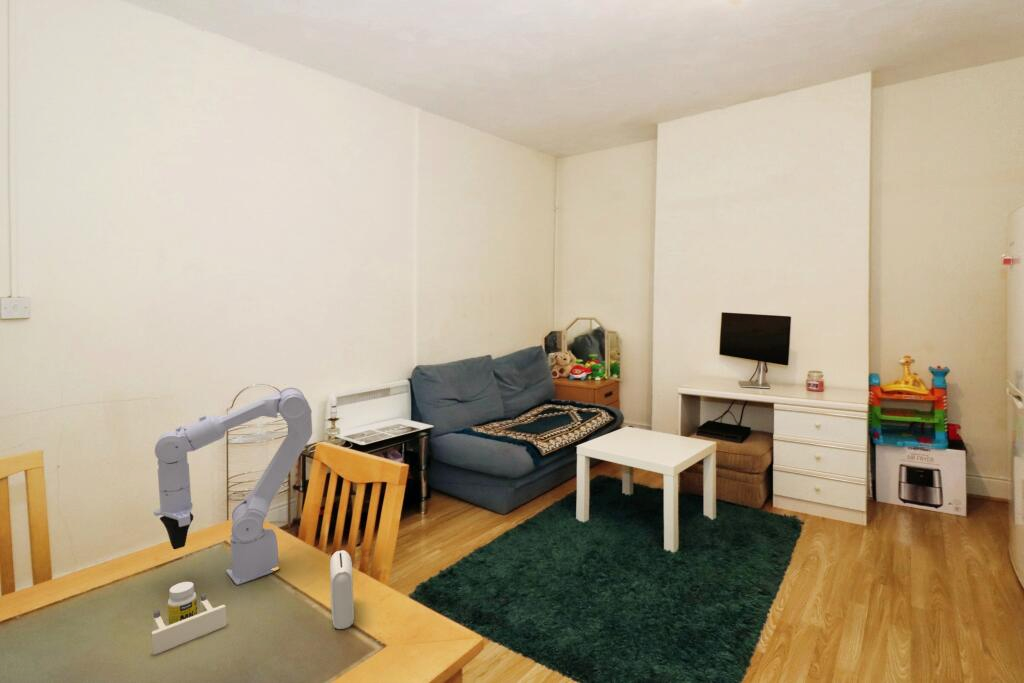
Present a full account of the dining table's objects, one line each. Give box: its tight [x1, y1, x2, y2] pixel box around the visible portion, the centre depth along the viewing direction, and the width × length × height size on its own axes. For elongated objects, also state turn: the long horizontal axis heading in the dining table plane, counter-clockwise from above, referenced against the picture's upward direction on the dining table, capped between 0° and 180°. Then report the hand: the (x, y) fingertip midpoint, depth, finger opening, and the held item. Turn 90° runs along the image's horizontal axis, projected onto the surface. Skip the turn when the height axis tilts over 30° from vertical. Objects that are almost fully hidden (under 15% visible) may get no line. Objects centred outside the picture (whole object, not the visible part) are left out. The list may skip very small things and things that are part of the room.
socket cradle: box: [151, 593, 227, 656], centre depth 102 cm, size 12×8×4 cm, turn 134°
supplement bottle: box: [167, 581, 198, 625], centre depth 103 cm, size 5×5×8 cm
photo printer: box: [329, 549, 355, 630], centre depth 107 cm, size 10×4×12 cm, turn 20°
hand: (178, 547), depth 116 cm, fingers closed
